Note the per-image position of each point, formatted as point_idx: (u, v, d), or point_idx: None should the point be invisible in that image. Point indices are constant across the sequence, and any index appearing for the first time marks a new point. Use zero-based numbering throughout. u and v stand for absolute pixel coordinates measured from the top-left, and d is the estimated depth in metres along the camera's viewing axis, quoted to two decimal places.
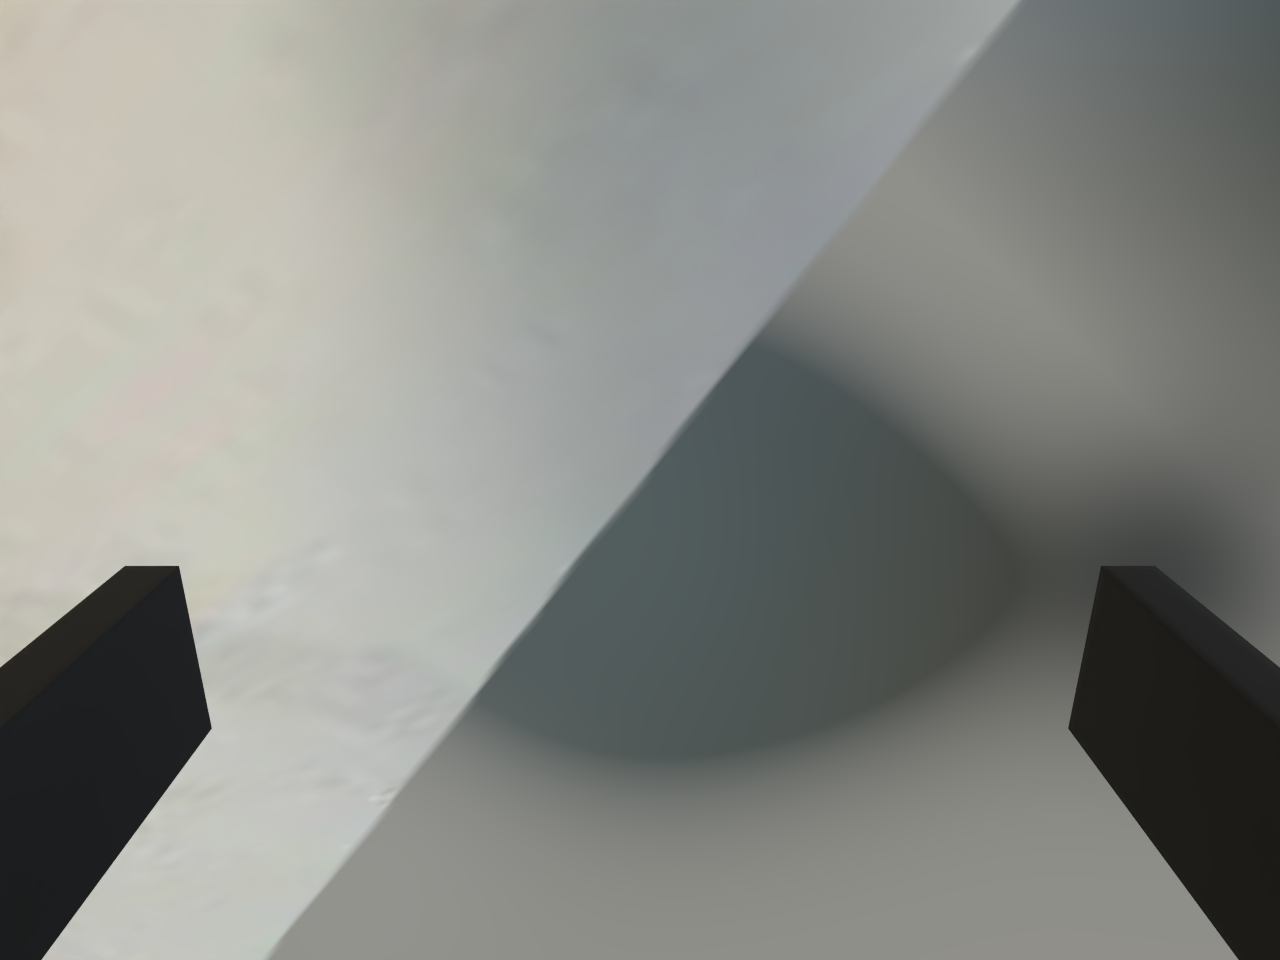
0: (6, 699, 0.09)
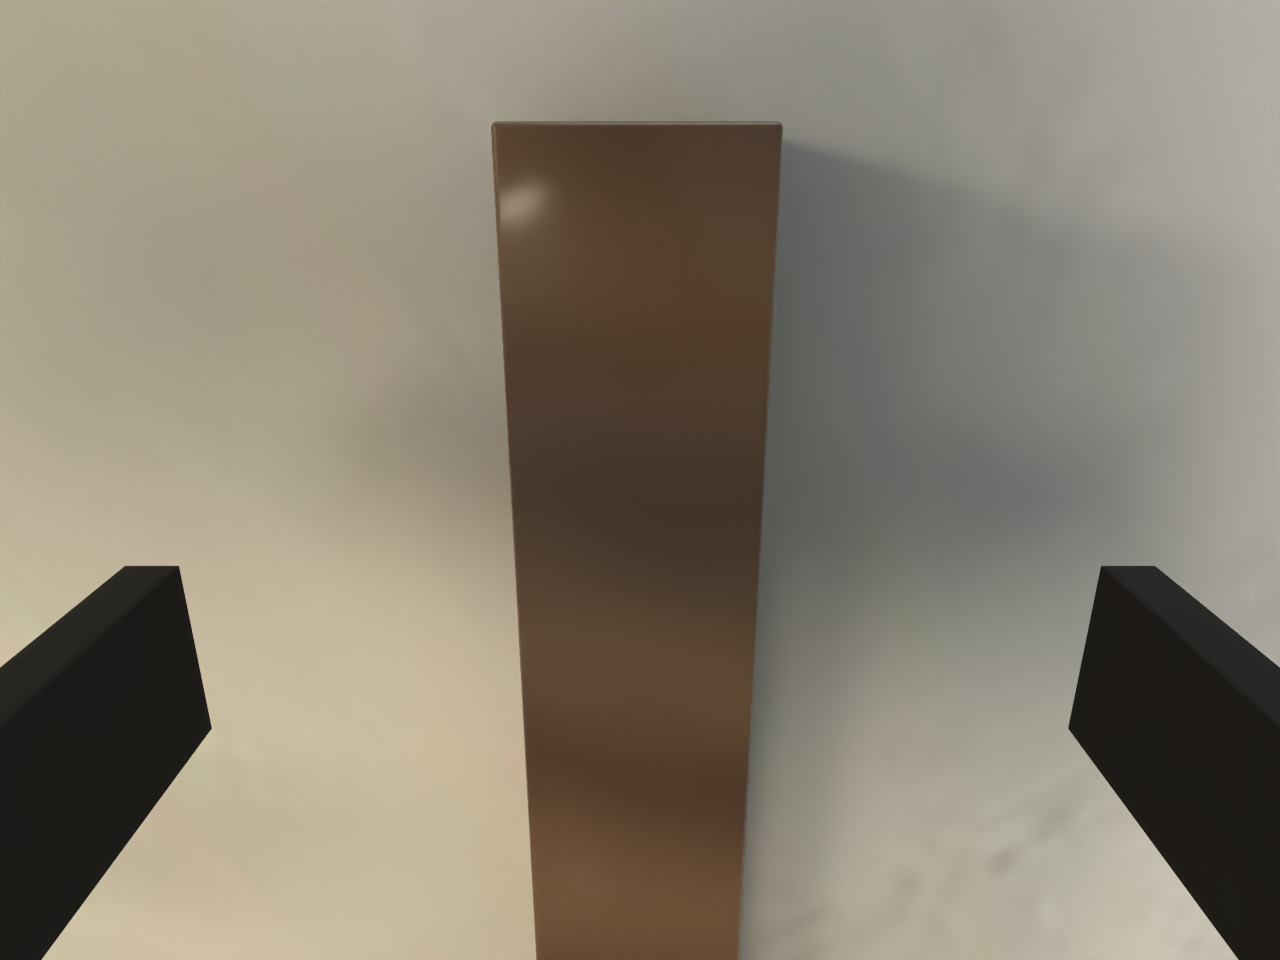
0: (6, 699, 0.09)
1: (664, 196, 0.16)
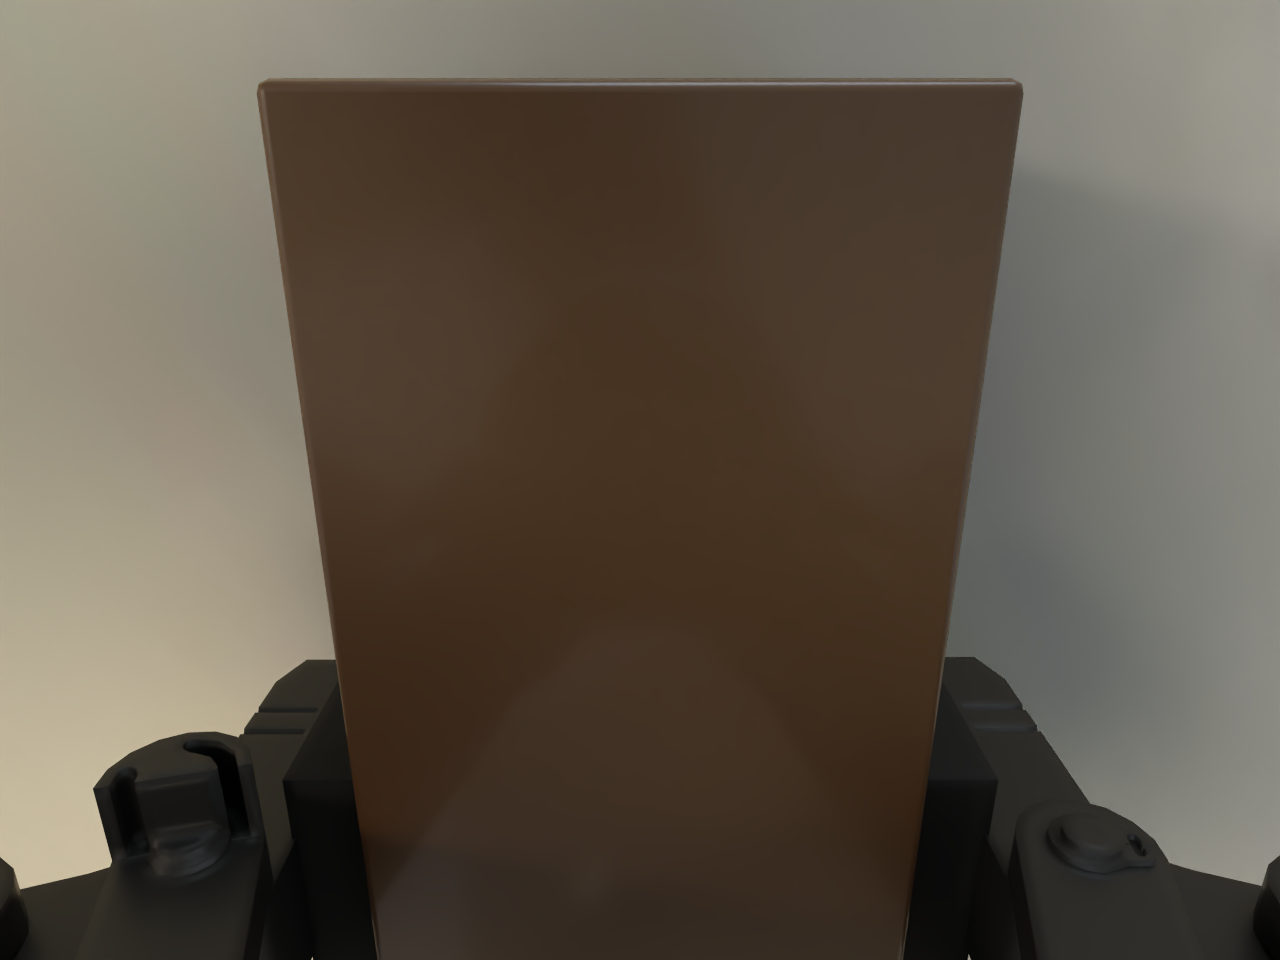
0: None
1: (708, 272, 0.06)
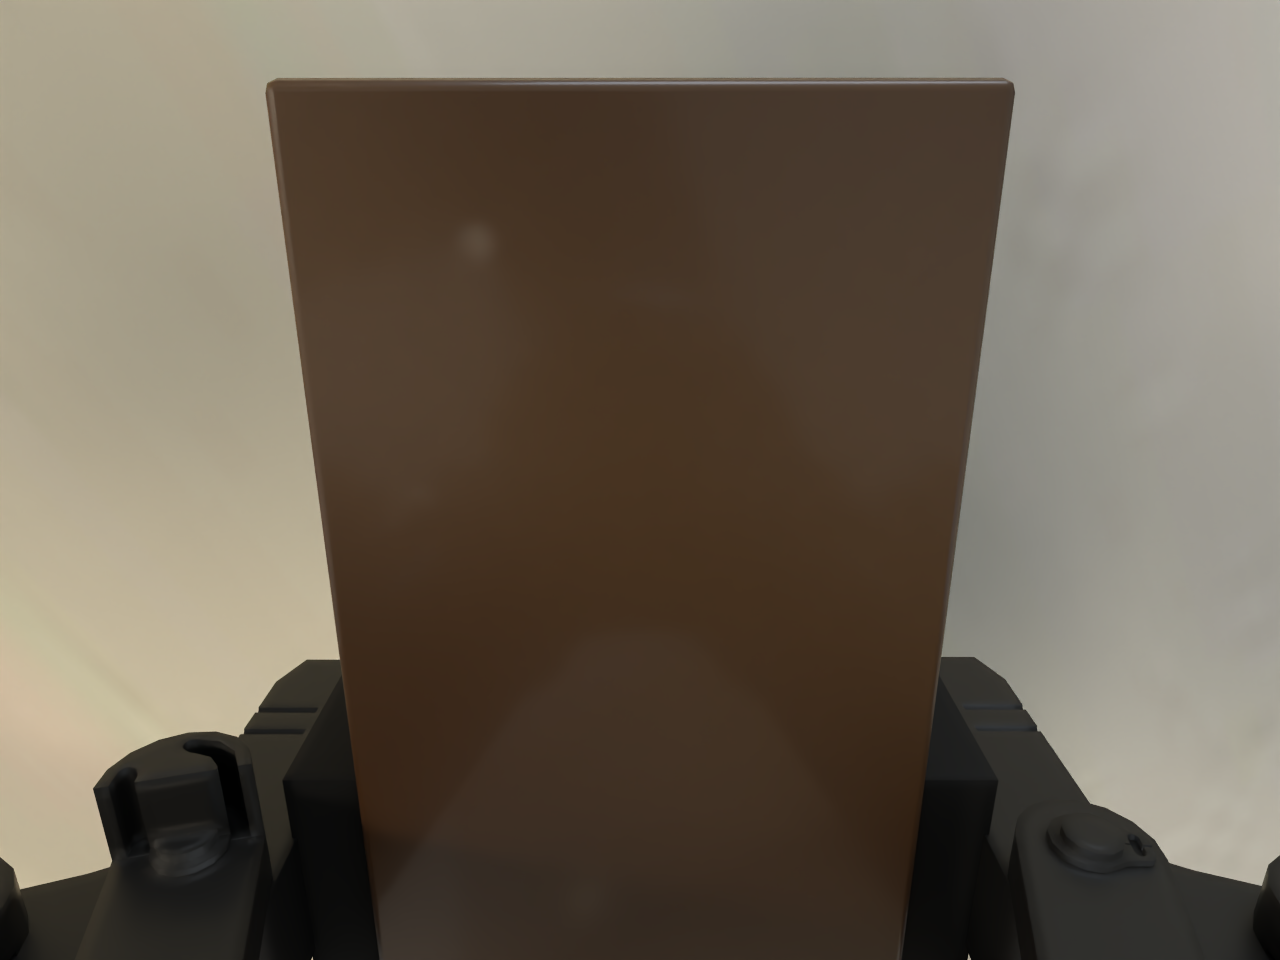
0: None
1: (706, 268, 0.06)
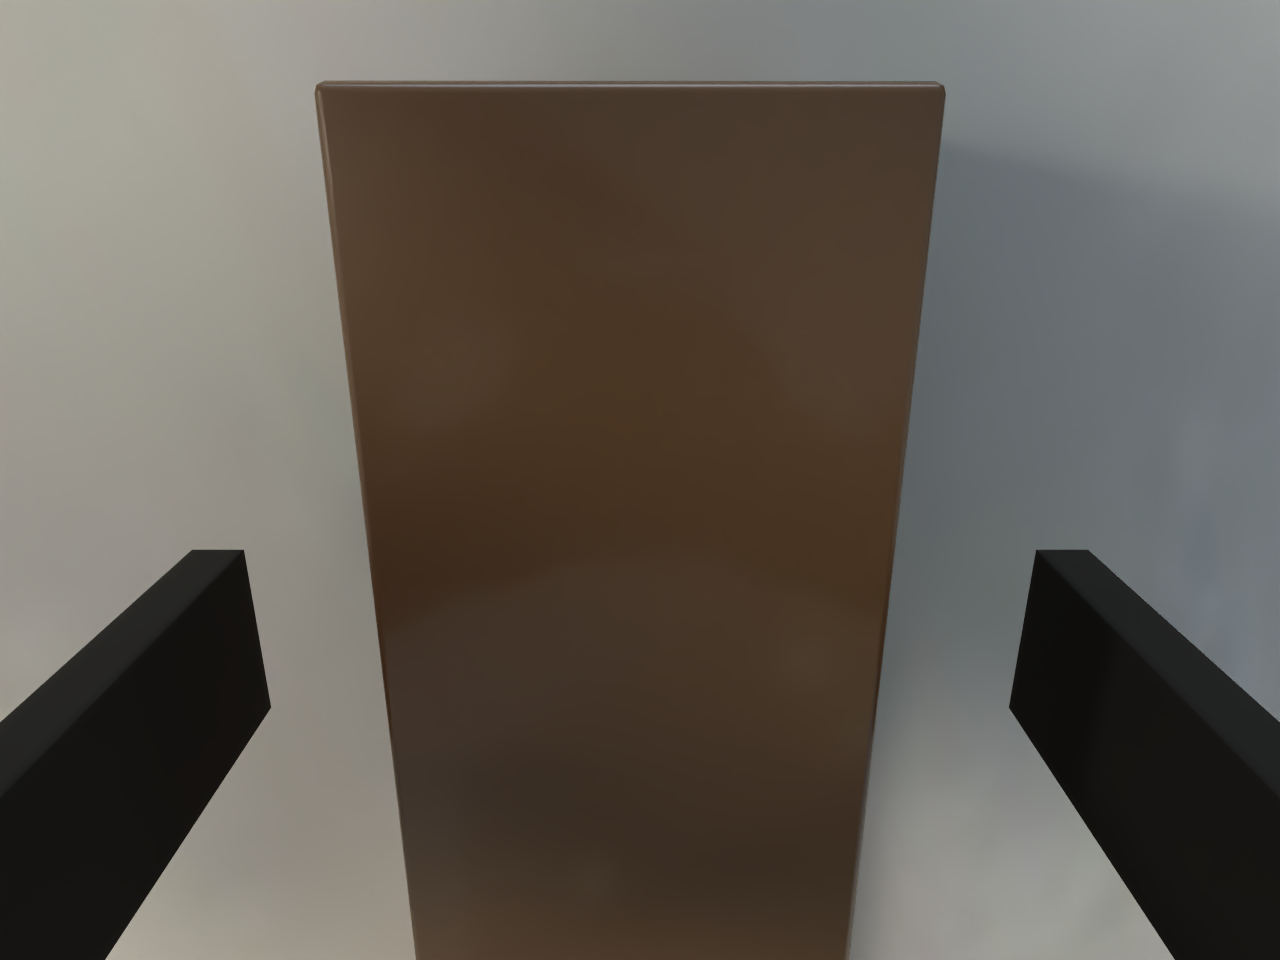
0: (99, 671, 0.10)
1: (687, 242, 0.08)
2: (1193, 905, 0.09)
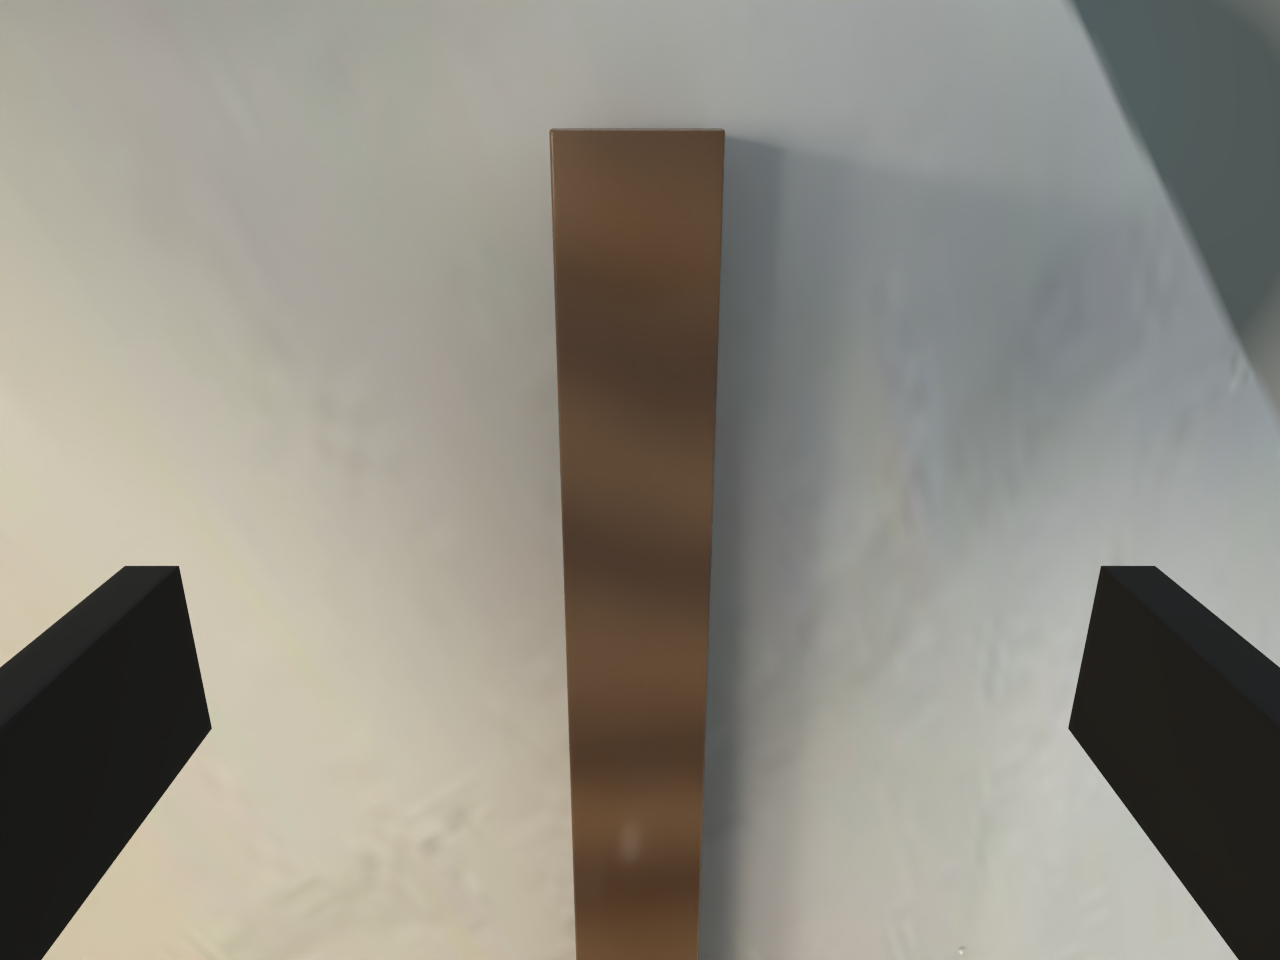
0: (6, 699, 0.09)
1: (653, 174, 0.26)
2: None
